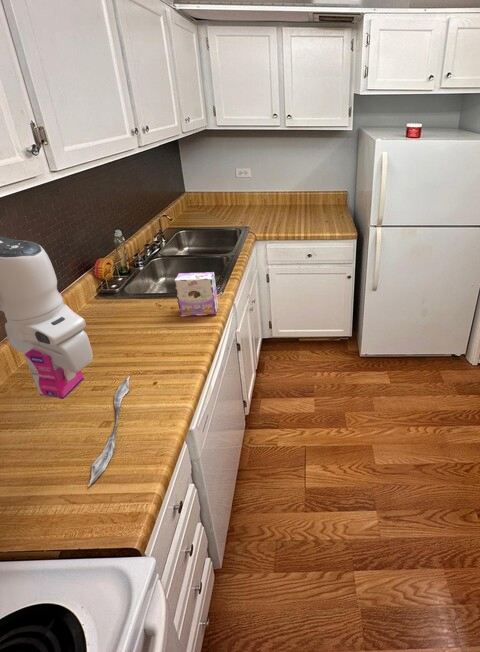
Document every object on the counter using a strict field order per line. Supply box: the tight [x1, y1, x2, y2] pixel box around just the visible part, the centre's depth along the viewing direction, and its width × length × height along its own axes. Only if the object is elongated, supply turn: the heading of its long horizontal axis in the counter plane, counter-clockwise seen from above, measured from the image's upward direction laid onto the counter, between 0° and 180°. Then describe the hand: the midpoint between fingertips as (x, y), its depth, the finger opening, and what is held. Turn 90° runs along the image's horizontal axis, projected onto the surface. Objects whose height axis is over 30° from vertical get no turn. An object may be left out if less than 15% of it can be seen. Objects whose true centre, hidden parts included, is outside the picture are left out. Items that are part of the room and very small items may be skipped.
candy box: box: [173, 271, 219, 318], centre depth 128 cm, size 14×6×16 cm, turn 94°
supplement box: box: [23, 349, 85, 400], centre depth 70 cm, size 6×6×12 cm
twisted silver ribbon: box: [87, 375, 131, 488], centre depth 86 cm, size 32×1×5 cm
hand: (57, 372), depth 71 cm, fingers closed on supplement box, 6 cm apart
